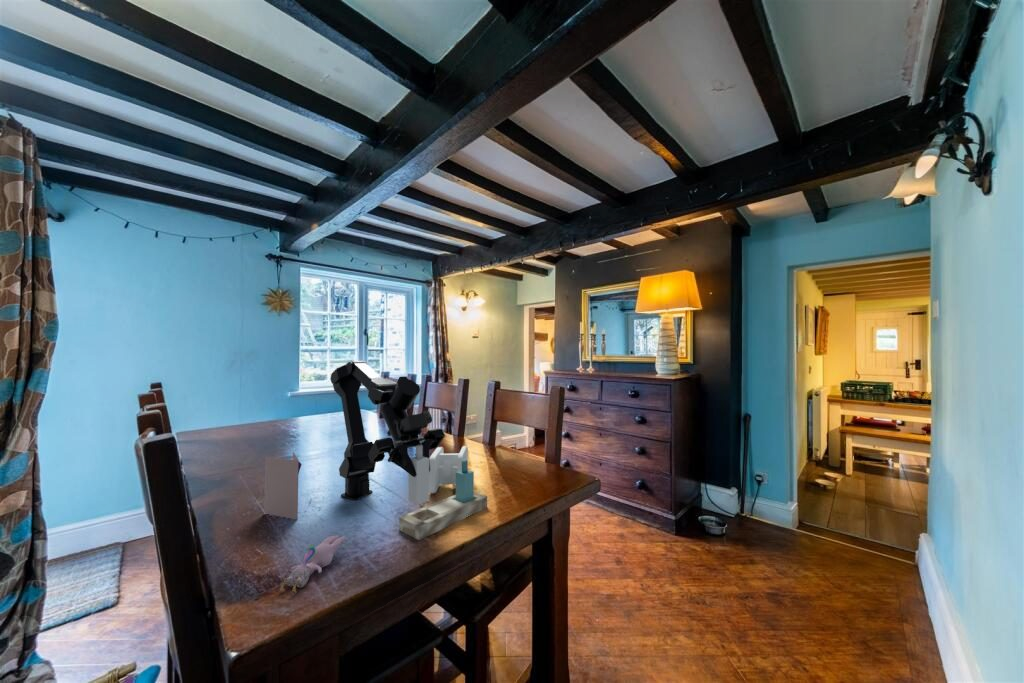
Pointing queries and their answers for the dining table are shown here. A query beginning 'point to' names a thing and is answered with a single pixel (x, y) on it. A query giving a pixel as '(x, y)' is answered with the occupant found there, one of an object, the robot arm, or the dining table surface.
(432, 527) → the slot rack
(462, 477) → the teal plug
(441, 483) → the cable organizer
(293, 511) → the greeting card
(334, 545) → the pink horned figurine
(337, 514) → the dining table surface
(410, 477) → the grey plug
